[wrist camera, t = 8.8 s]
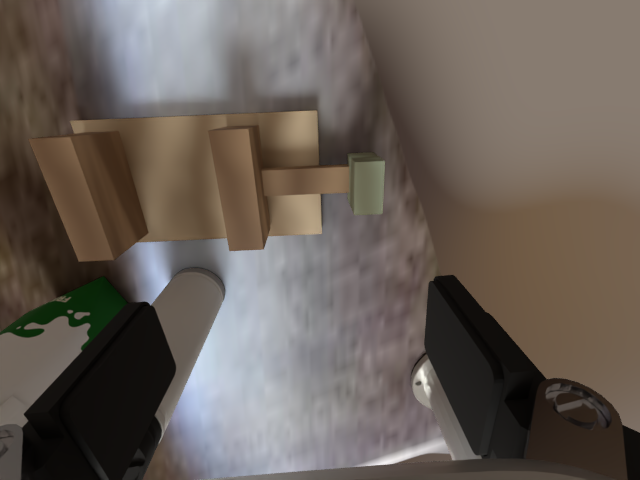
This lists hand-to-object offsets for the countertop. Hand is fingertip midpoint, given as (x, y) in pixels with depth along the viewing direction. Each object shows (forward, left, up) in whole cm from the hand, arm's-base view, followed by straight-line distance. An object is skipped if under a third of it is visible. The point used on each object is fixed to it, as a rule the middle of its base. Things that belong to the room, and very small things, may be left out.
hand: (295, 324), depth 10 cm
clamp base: (+10, 0, -22) cm, 24 cm away
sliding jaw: (0, 0, -21) cm, 21 cm away
